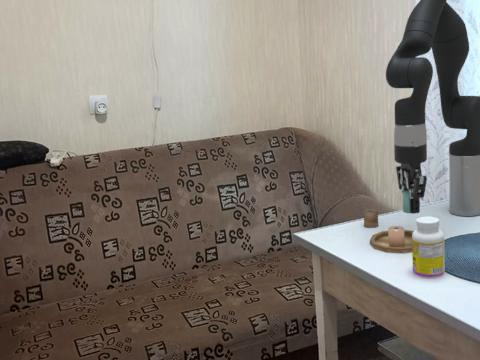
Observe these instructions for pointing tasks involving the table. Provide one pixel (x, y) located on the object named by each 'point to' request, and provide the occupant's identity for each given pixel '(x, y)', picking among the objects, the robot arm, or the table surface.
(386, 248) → the tray
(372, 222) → the bead
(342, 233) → the table surface
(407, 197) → the bead
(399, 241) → the bead
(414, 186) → the robot arm
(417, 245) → the supplement bottle
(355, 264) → the table surface
